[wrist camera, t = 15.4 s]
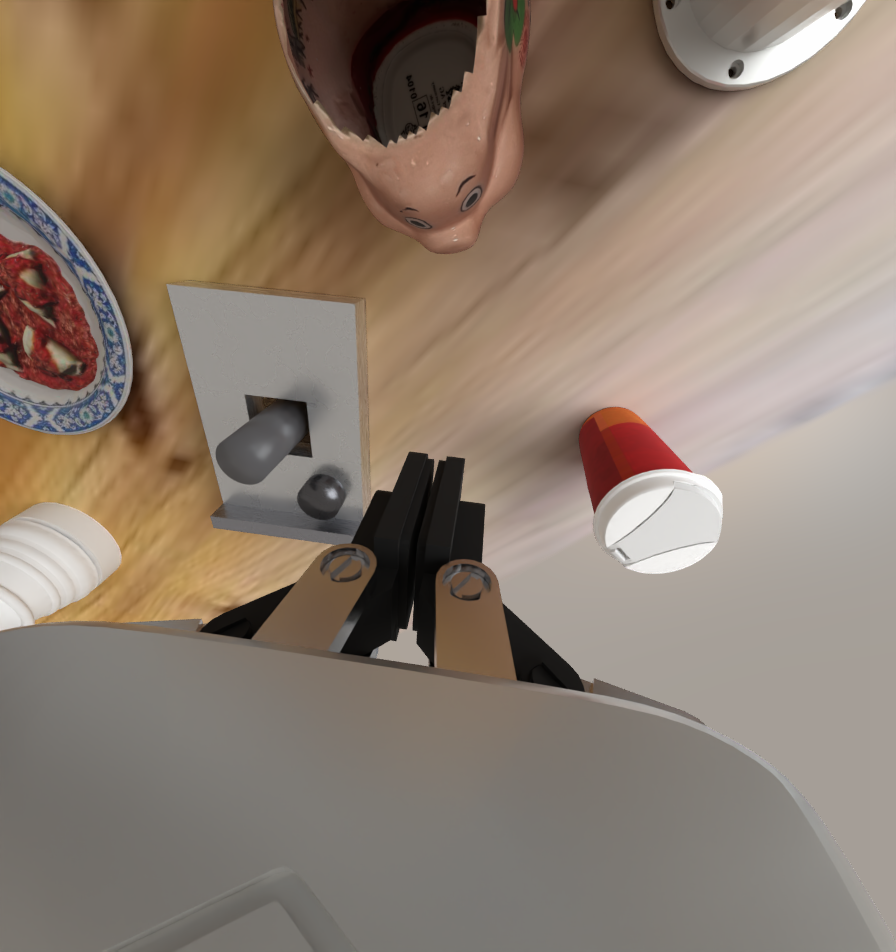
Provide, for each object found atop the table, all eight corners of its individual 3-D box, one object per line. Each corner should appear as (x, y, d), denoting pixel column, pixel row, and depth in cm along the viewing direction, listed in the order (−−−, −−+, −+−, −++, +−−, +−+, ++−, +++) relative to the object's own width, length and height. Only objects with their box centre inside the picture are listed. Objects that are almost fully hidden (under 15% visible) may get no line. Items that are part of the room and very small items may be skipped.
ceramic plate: (124, 188, 33) (93, 185, 31) (162, 453, 47) (142, 465, 44) (-196, 91, 32) (-256, 80, 30) (-63, 390, 46) (-96, 400, 43)
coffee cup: (597, 486, 42) (639, 596, 30) (549, 431, 40) (571, 526, 27) (674, 438, 39) (758, 540, 26) (626, 375, 36) (694, 454, 24)
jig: (189, 280, 36) (144, 287, 32) (365, 298, 35) (345, 309, 31) (240, 499, 49) (213, 527, 44) (371, 517, 48) (357, 547, 43)
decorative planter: (277, -61, 25) (78, -321, 13) (460, -211, 22) (411, -741, 10) (412, 273, 34) (365, 297, 22) (558, 206, 30) (593, 191, 19)
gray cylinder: (270, 392, 41) (210, 435, 33) (312, 397, 41) (263, 441, 32) (276, 431, 43) (221, 481, 35) (316, 436, 43) (271, 487, 35)
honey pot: (124, 585, 60) (-4, 706, 45) (35, 556, 59) (-128, 670, 44) (118, 522, 53) (-36, 640, 38) (17, 488, 52) (-183, 595, 37)
